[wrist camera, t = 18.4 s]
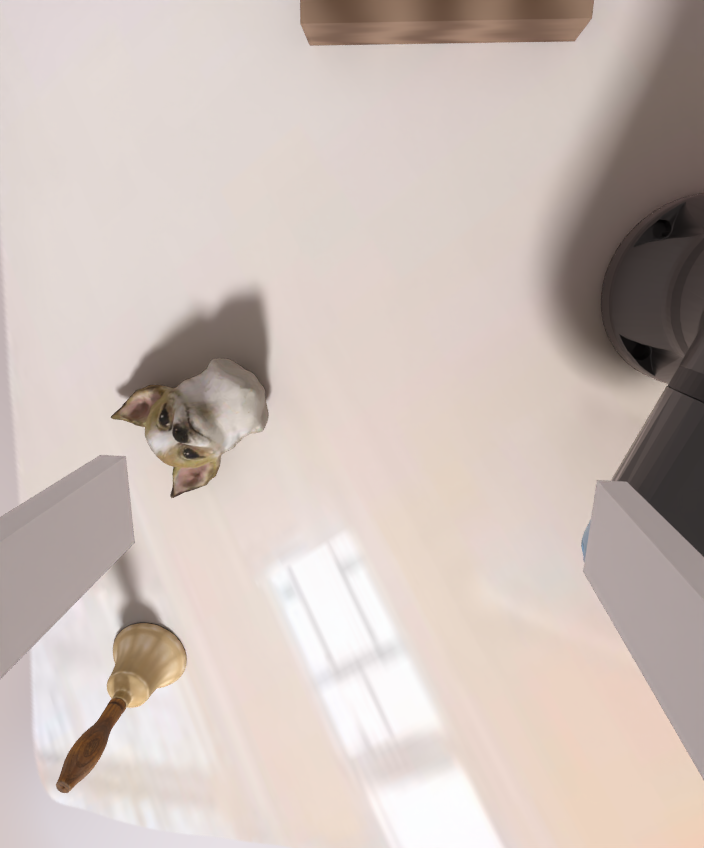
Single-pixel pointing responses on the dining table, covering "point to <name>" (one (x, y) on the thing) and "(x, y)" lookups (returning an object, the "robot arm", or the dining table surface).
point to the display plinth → (442, 21)
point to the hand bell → (126, 690)
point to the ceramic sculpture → (198, 420)
